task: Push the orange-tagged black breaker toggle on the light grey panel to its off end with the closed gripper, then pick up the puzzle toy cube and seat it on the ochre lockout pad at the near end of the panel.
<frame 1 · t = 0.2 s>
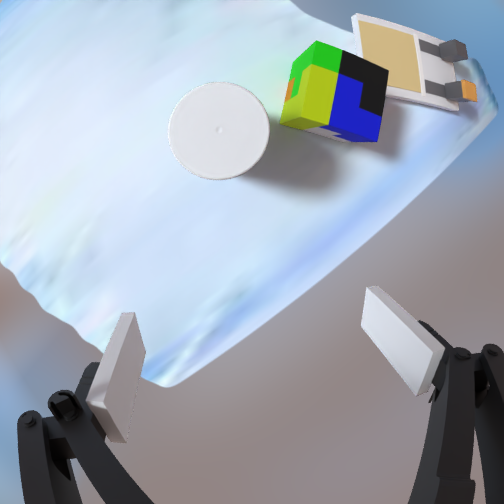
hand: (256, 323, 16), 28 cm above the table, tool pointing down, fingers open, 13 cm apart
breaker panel: (408, 64, 37), on the table
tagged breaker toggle: (460, 91, 34), point 5 cm above the table, slide at 0.0 cm
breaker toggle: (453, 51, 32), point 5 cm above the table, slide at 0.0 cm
puzzle toy: (318, 101, 38), on the table
supplement tub: (216, 137, 38), on the table
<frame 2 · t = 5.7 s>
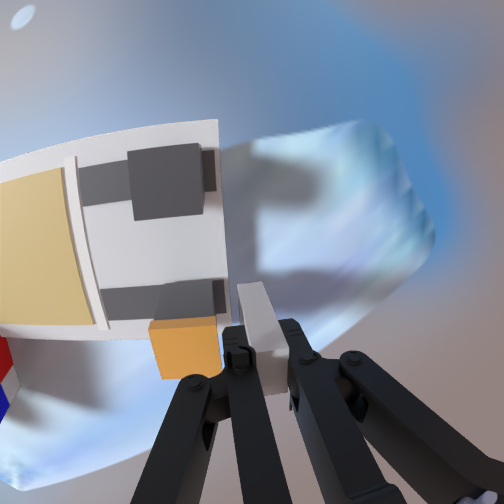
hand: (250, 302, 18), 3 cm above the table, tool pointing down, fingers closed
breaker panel: (79, 242, 19), on the table
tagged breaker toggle: (189, 325, 16), point 5 cm above the table, slide at 0.0 cm, touching gripper
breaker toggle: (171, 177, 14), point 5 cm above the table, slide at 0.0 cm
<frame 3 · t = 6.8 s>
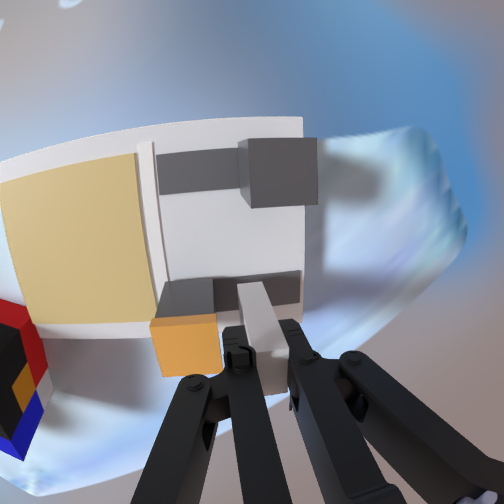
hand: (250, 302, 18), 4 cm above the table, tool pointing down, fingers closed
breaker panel: (143, 234, 19), on the table
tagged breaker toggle: (189, 323, 16), point 5 cm above the table, slide at 5.0 cm, touching gripper
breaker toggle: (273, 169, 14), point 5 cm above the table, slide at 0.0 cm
puzzle toy: (7, 339, 20), on the table
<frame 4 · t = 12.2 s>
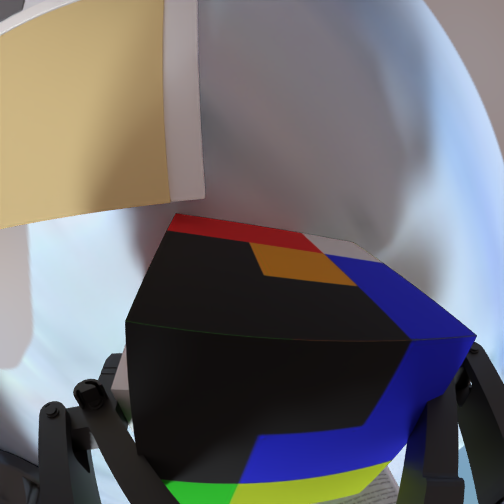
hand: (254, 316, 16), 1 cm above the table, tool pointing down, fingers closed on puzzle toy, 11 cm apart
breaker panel: (73, 28, 10), on the table
puzzle toy: (252, 309, 17), on the table, touching gripper
supplement tub: (313, 437, 23), on the table
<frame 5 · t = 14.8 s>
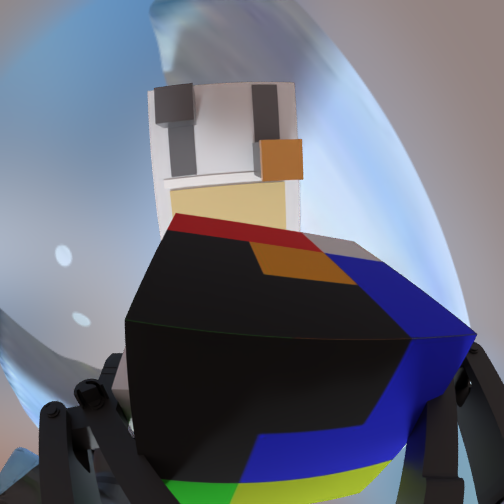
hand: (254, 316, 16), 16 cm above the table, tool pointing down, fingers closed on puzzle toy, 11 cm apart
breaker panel: (226, 188, 30), on the table
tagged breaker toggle: (275, 158, 24), point 5 cm above the table, slide at 5.1 cm
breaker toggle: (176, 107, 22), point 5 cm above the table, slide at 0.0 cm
puzzle toy: (252, 308, 17), point 15 cm above the table, touching gripper
when the fingers open (4 cm above the table, at t = 17.5 s): puzzle toy drops 2 cm, resting on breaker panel.
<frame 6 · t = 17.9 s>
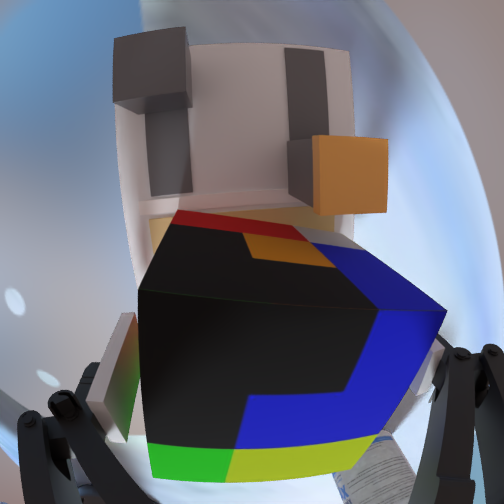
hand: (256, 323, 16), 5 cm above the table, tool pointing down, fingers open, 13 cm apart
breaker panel: (240, 211, 19), on the table
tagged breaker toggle: (331, 170, 14), point 5 cm above the table, slide at 5.1 cm
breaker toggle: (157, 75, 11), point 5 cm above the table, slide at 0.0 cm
puzzle toy: (248, 296, 19), point 2 cm above the table, touching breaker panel
supplement tub: (358, 446, 32), on the table
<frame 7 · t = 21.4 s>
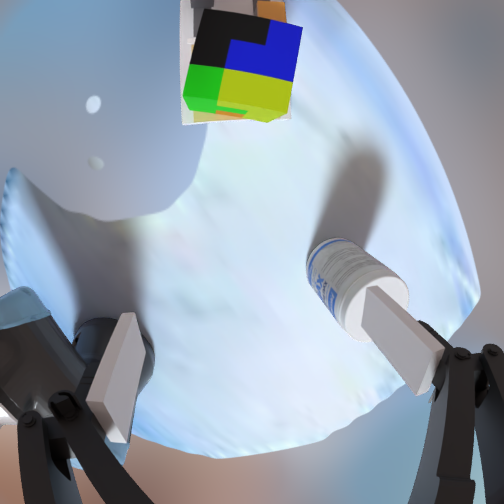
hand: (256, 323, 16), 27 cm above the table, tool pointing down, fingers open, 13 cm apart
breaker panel: (232, 50, 33), on the table
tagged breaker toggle: (267, 19, 28), point 5 cm above the table, slide at 5.1 cm
puzzle toy: (235, 80, 33), point 2 cm above the table, touching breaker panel
supplement tub: (332, 264, 46), on the table
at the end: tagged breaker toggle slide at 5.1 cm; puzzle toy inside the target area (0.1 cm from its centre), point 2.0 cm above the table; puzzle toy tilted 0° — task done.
